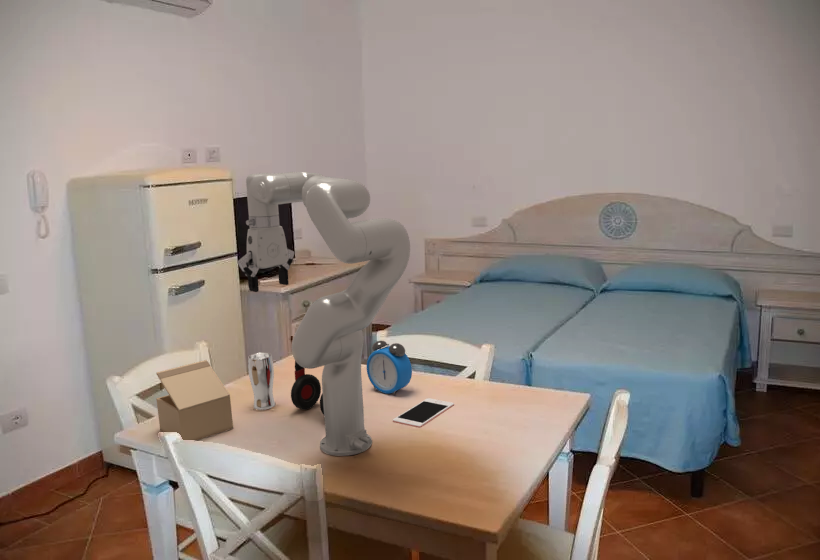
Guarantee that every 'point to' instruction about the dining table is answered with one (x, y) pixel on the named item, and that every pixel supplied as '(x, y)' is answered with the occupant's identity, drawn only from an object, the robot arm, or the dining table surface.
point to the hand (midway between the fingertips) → (269, 287)
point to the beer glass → (261, 380)
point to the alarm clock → (388, 367)
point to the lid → (192, 385)
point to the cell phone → (423, 412)
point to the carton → (195, 418)
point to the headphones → (306, 390)
